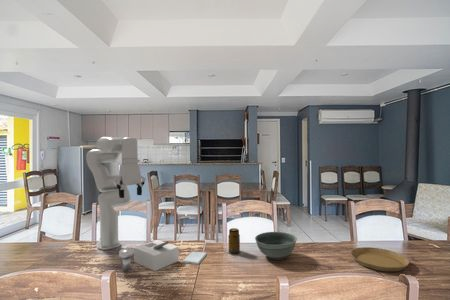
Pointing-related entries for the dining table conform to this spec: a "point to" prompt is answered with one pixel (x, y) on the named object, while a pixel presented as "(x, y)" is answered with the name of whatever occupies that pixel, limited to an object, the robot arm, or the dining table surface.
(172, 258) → the block
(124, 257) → the pin
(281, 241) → the bowl
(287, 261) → the dining table surface
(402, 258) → the plant saucer
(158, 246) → the latch bar
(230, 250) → the condiment
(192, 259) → the hard drive
